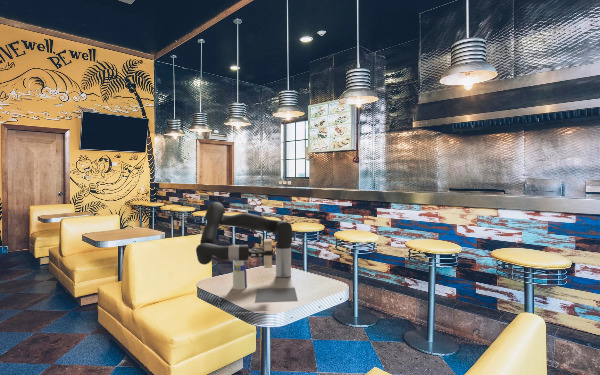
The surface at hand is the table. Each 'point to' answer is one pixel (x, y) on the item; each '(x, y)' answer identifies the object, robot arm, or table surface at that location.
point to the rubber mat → (275, 295)
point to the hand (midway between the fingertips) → (272, 251)
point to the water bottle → (239, 275)
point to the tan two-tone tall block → (267, 248)
